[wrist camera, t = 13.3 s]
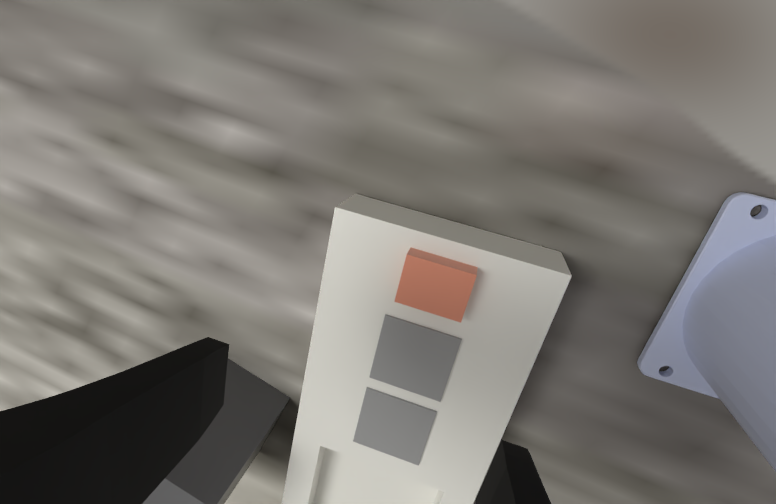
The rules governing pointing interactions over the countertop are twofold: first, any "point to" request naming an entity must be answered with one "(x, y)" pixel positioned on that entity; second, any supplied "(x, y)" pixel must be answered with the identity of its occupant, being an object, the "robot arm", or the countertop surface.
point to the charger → (224, 443)
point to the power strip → (416, 356)
